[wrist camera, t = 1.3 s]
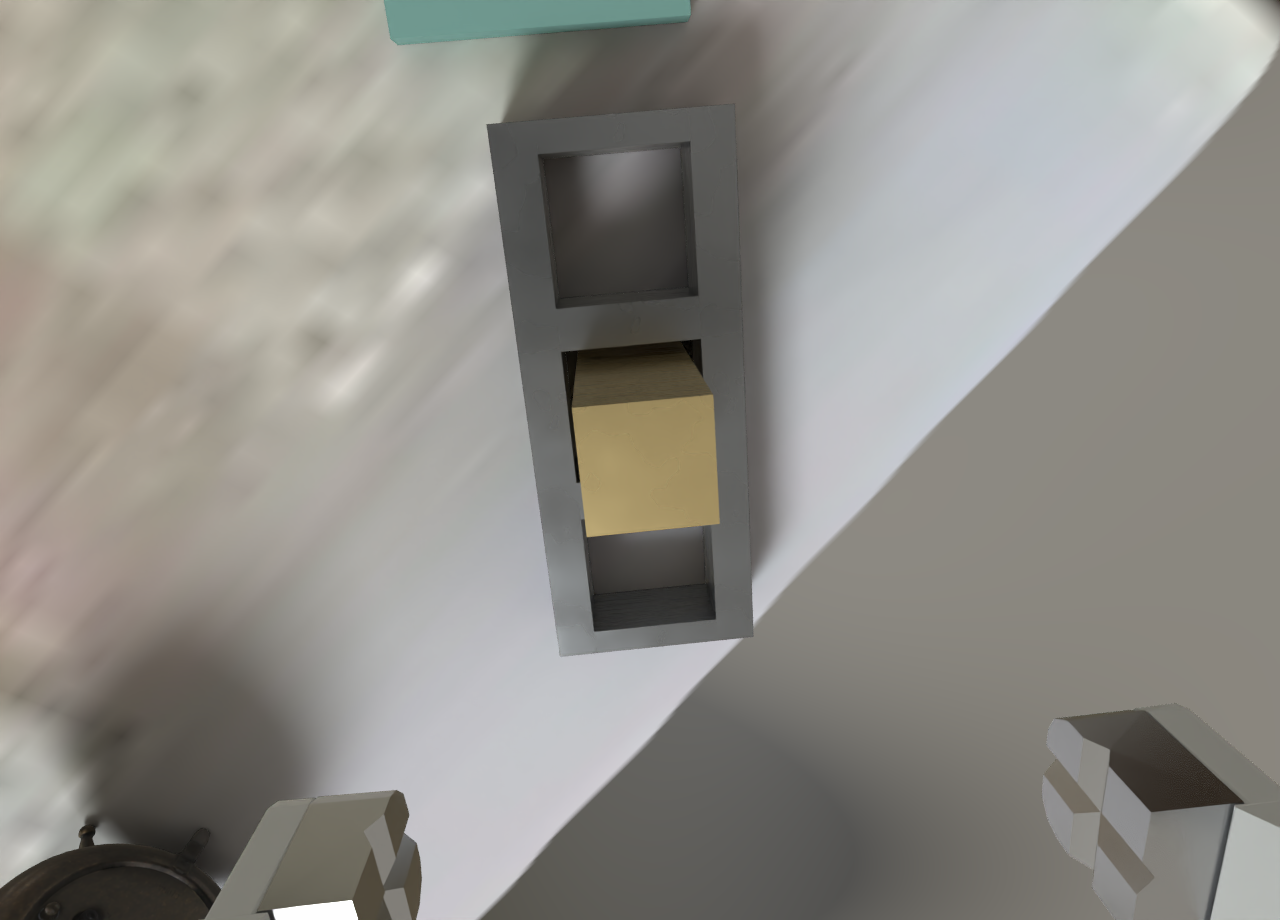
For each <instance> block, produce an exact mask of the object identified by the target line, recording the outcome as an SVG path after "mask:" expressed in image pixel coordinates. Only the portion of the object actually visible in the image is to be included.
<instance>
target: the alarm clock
mask: <svg viewBox="0 0 1280 920" xmlns="http://www.w3.org/2000/svg"><path fill="white" fill-rule="evenodd" d="M94 835H95V828H94V827H93V826H92V825H86V826H84V827H82V828H81V829H80V831H79V838H81V842H80V846H79V849H76V850H72V851H68V852H65V853H63V854H60V855H57V856H54V857H51V858H49V859H47V860H45V861H42V862H40V863H39V864H37V865H35V866H33V867H31V868H29V869H28V870H26V871H24V872H23V873H21V874H19V875H18V876H17V877H15V878H14V879H12V880H11V881H10V882H8V883H7V884H6V885H4V886H3V887H2V888H1V889H0V920H203V919H205V918H206V916H207V914H208V913H209V911H210V909H211V907H212V905H213V904H214V902H215V900H216V898H217V897H218V895H219V893H220V891H221V889H220V888H219V886H218V885H217V884H216V883H215V882H214V881H213V880H212V879H211V878H210V877H209V876H208V875H207V874H206V873H205V872H203V871H202V870H201V869H199V868H198V867H197V866H195V865H194V862H195V861H196V859H197V857H198V856H199V854H200V853H201V851H202V850H203V848H204V847H205V845H206V844H207V842H208V839H209V836H210V833H209V832H208V830H206V829H200V830H198V831H197V832H196V833H195V834H194V836H193V838H192V839H191V840H190V842H189V843H188V844H187V846H186V847H185V848H184V850H183V851H182V852H181V853H179V854H173V853H170V852H167V851H164V850H161V849H158V848H154V847H149V846H144V845H136V844H103V845H94V843H93V839H92V838H93V836H94Z"/></svg>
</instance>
